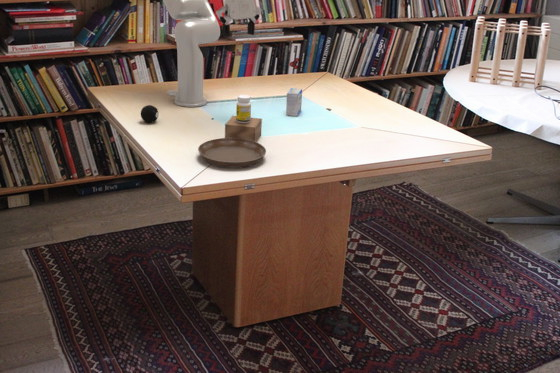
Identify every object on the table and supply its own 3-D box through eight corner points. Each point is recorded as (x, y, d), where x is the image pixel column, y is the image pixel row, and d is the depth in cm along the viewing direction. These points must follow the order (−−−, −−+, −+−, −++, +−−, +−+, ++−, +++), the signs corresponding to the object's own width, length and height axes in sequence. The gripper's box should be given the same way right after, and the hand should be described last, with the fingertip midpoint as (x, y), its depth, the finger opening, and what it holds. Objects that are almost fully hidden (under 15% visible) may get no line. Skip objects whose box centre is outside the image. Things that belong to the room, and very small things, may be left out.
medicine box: (297, 116, 262) (298, 93, 258) (285, 115, 262) (286, 92, 259) (301, 111, 269) (302, 88, 266) (289, 109, 270) (290, 87, 266)
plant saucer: (271, 170, 211) (272, 159, 210) (201, 172, 207) (202, 161, 205) (259, 146, 229) (259, 137, 228) (195, 148, 225) (195, 138, 224)
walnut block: (224, 141, 232) (225, 124, 229) (232, 132, 241) (232, 115, 238) (254, 145, 230) (255, 127, 228) (261, 135, 239) (261, 118, 237)
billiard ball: (153, 125, 244) (153, 108, 241) (137, 123, 245) (137, 106, 243) (161, 121, 249) (161, 104, 247) (145, 118, 251) (145, 102, 248)
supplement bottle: (235, 119, 235) (236, 94, 232) (250, 119, 236) (251, 94, 232) (236, 123, 231) (236, 98, 228) (250, 123, 231) (251, 98, 228)
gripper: (223, -15, 228) (222, 39, 235) (267, -16, 238) (265, 35, 244) (211, -18, 234) (210, 34, 240) (255, -19, 243) (254, 31, 250)
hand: (238, 35), depth 242 cm, fingers open, 9 cm apart
